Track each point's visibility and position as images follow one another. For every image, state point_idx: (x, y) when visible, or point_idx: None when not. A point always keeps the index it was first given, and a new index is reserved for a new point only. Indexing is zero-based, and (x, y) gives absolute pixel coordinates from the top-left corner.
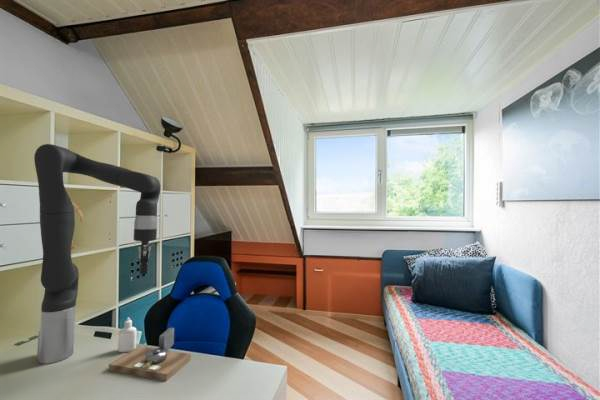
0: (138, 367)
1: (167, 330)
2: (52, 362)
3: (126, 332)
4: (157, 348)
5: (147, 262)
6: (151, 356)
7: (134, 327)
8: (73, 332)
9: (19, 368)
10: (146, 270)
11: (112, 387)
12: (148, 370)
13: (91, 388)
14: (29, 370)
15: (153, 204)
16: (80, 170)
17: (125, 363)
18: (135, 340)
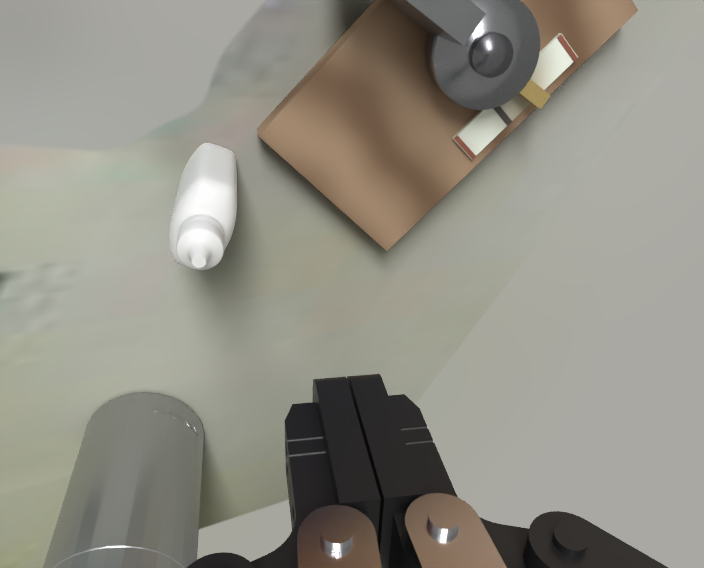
0: (496, 132)
1: None
2: (203, 434)
3: (232, 230)
4: (474, 50)
5: (584, 528)
6: (514, 82)
7: (203, 194)
8: (137, 465)
9: None
10: (390, 411)
11: (520, 211)
12: (551, 90)
13: (479, 275)
14: (227, 475)
15: None
16: None
17: (421, 187)
18: (220, 159)
